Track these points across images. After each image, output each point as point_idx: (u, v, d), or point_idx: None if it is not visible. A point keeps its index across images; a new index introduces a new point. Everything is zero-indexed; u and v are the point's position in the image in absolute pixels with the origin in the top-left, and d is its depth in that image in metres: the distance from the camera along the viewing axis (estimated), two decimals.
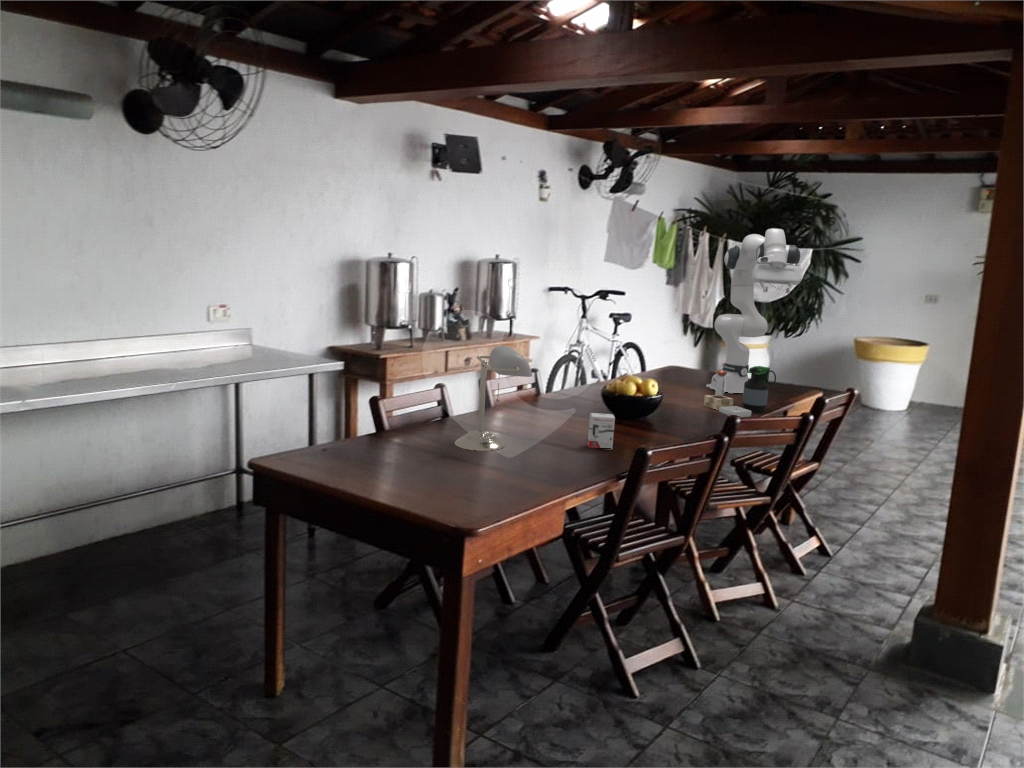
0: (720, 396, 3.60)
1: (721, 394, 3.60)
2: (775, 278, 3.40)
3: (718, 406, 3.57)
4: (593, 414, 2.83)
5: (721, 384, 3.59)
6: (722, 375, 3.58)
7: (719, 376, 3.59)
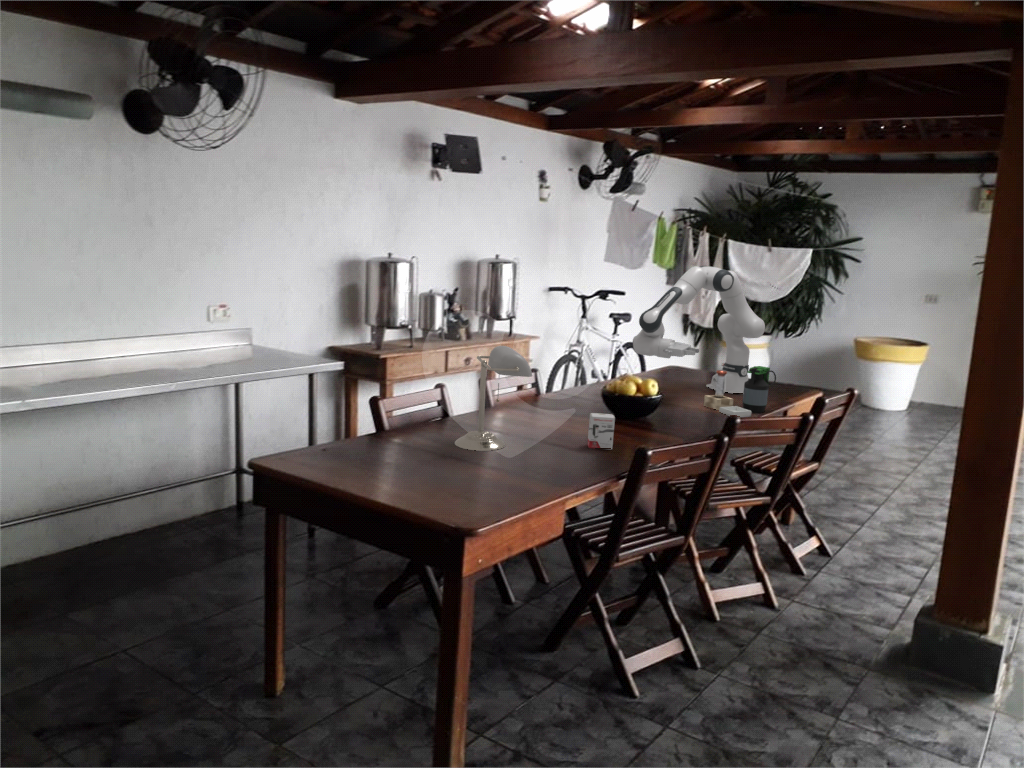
0: (720, 396, 3.60)
1: (721, 394, 3.60)
2: None
3: (718, 406, 3.57)
4: (593, 414, 2.83)
5: (721, 384, 3.59)
6: (722, 375, 3.58)
7: (719, 376, 3.59)
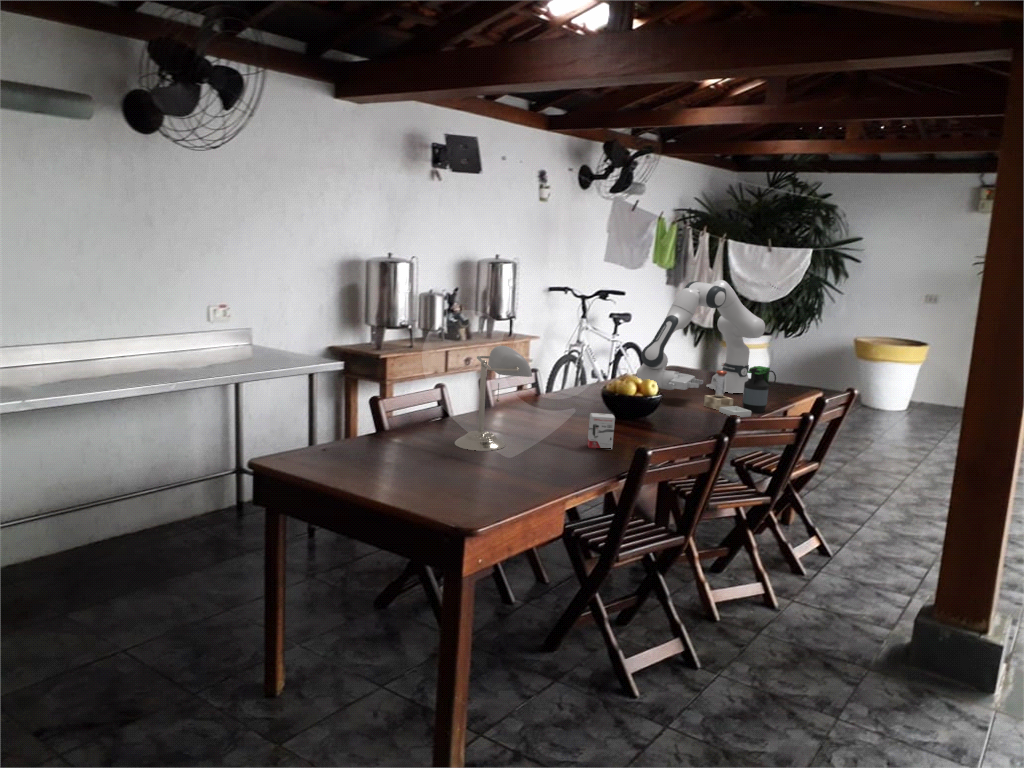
0: (720, 396, 3.60)
1: (721, 394, 3.60)
2: None
3: (718, 406, 3.57)
4: (593, 414, 2.83)
5: (721, 384, 3.59)
6: (722, 375, 3.58)
7: (719, 376, 3.59)
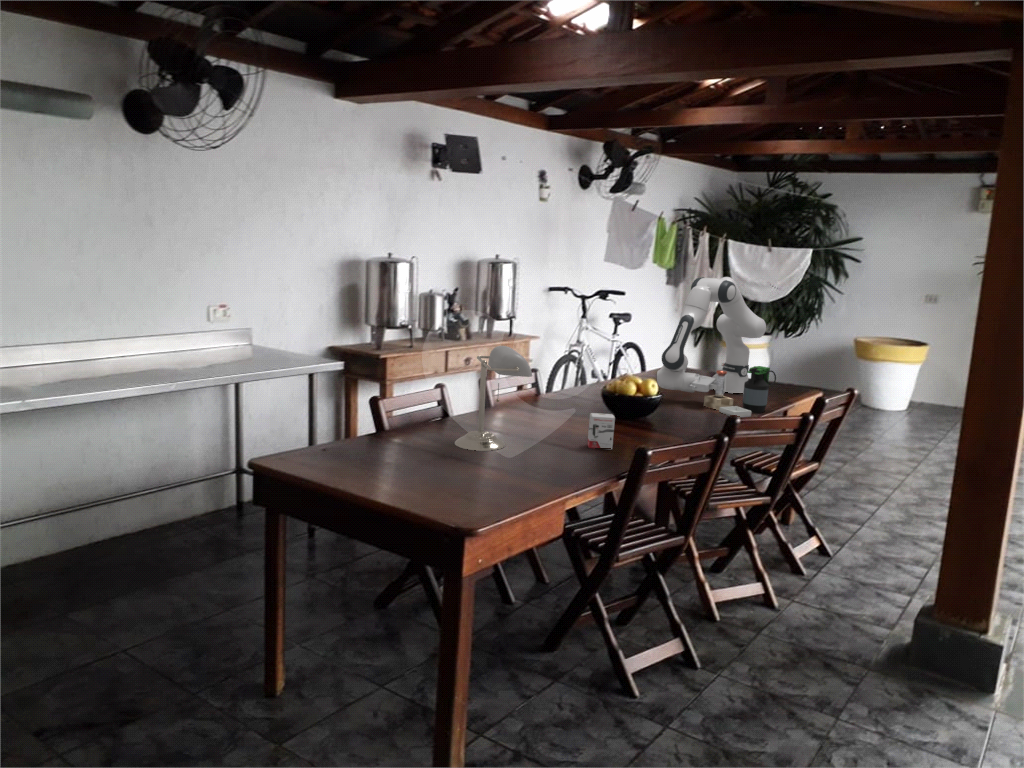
0: (720, 396, 3.60)
1: (721, 394, 3.60)
2: None
3: (718, 406, 3.57)
4: (593, 414, 2.83)
5: (721, 384, 3.59)
6: (722, 375, 3.58)
7: (719, 376, 3.59)
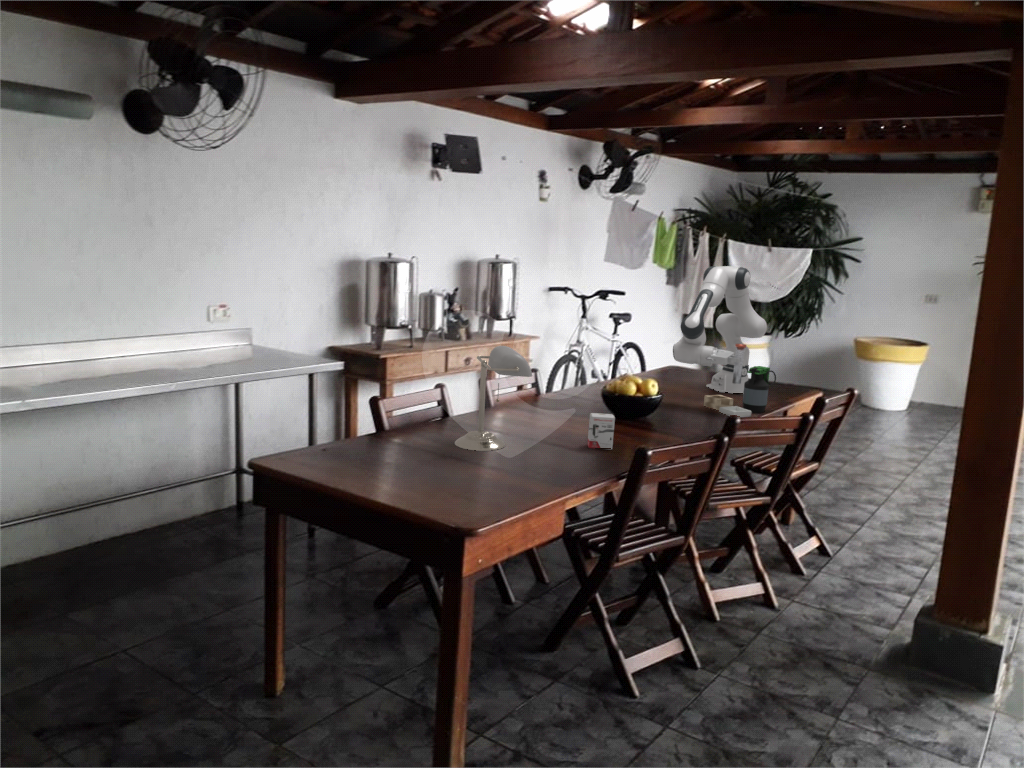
0: (739, 370, 3.46)
1: (740, 368, 3.46)
2: None
3: (718, 406, 3.57)
4: (593, 414, 2.83)
5: (740, 358, 3.45)
6: (741, 348, 3.44)
7: (738, 349, 3.45)
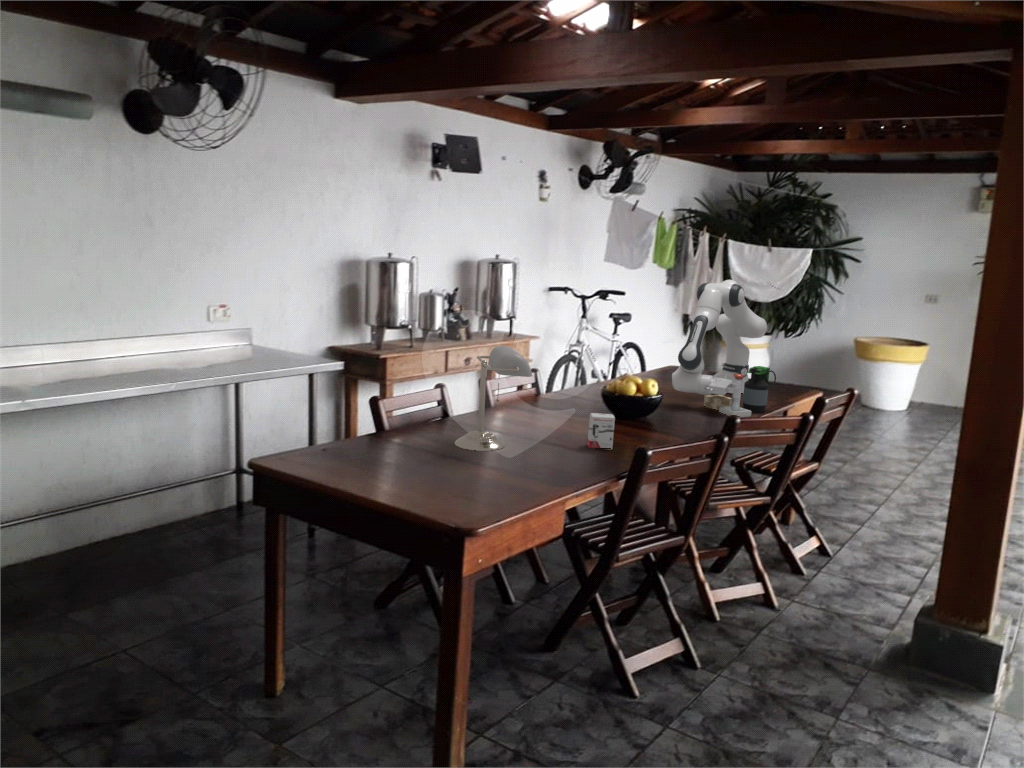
0: (737, 400, 3.48)
1: (738, 398, 3.48)
2: None
3: (718, 406, 3.57)
4: (593, 414, 2.83)
5: (738, 388, 3.47)
6: (739, 379, 3.46)
7: (736, 380, 3.47)
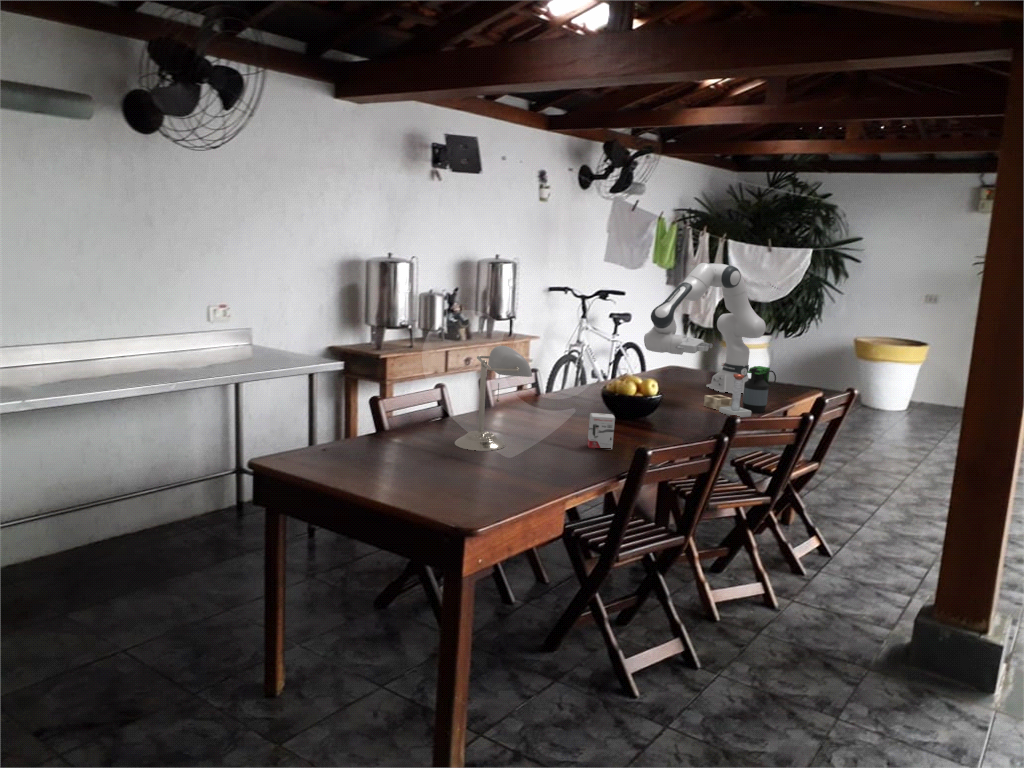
0: (737, 400, 3.48)
1: (738, 398, 3.48)
2: None
3: (718, 406, 3.57)
4: (593, 414, 2.83)
5: (738, 388, 3.47)
6: (739, 379, 3.46)
7: (736, 380, 3.47)
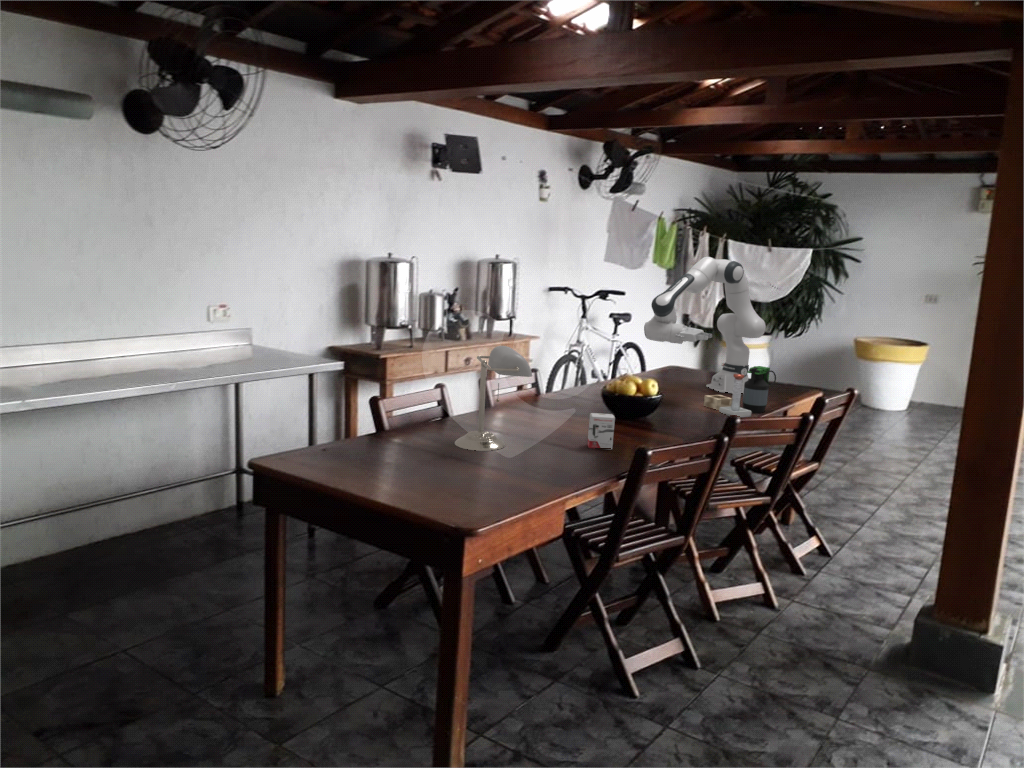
0: (737, 400, 3.48)
1: (738, 398, 3.48)
2: None
3: (718, 406, 3.57)
4: (593, 414, 2.83)
5: (738, 388, 3.47)
6: (739, 379, 3.46)
7: (736, 380, 3.47)
